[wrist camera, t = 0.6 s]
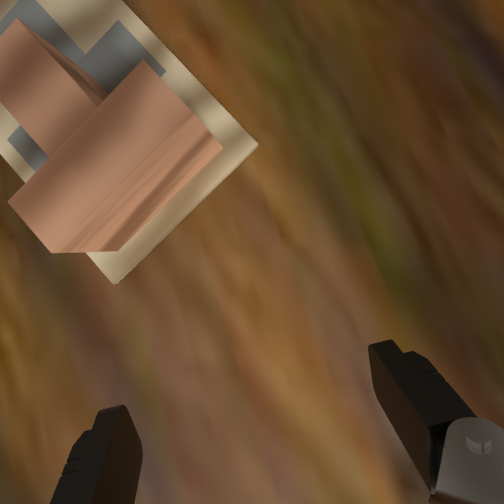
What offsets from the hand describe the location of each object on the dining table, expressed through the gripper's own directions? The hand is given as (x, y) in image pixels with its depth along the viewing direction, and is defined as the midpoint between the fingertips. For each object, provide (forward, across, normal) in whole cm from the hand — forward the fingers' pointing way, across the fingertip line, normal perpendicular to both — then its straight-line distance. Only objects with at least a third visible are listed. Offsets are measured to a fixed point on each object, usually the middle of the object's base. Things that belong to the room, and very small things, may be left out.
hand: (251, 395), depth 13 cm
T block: (+30, +8, -7) cm, 32 cm away
